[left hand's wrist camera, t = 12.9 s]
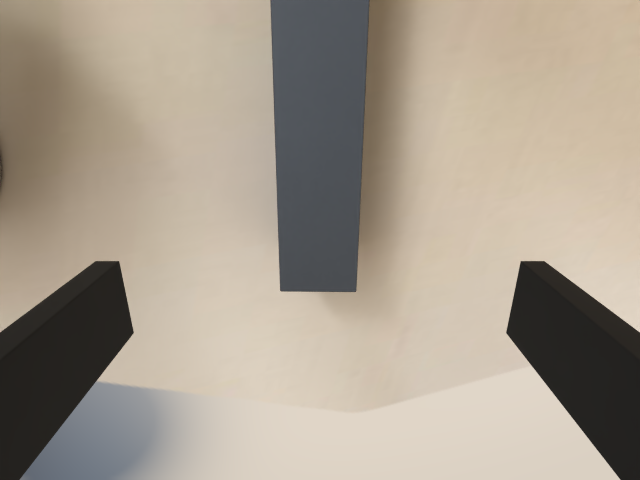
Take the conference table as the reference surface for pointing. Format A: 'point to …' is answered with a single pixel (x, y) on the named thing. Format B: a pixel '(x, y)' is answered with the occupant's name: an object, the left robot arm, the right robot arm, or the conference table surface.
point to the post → (319, 139)
